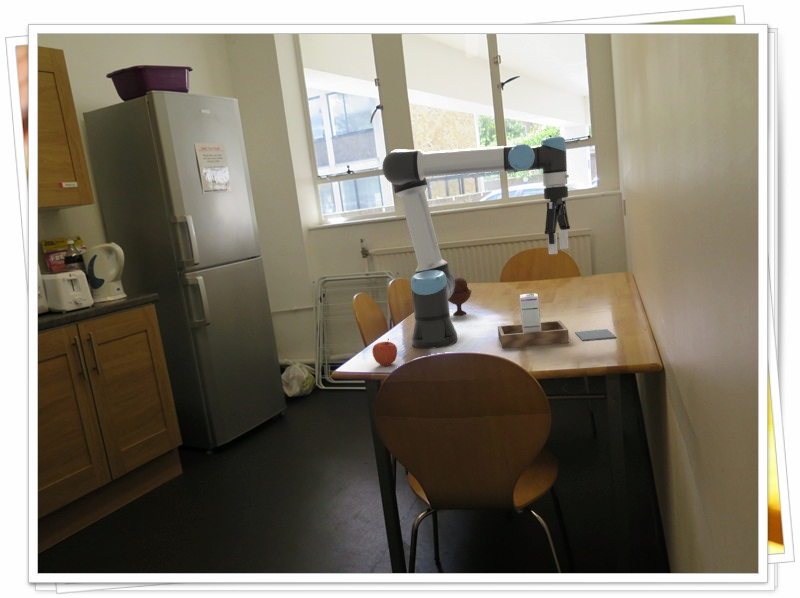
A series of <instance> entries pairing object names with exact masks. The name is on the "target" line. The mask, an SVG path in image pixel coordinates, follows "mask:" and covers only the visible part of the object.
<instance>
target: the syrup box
mask: <svg viewBox="0 0 800 598" xmlns="http://www.w3.org/2000/svg"><path fill="white" fill-rule="evenodd" d="M519 306H520V307H519V308H520V318H521V324H522V330H523V333H527V332H538V331H541V322H542V320H541V311H540V302H539V294H538V293H536V292H533V293H532V292H531V293H523V294H519Z"/></svg>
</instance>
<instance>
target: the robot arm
mask: <svg viewBox="0 0 800 598" xmlns="http://www.w3.org/2000/svg"><path fill="white" fill-rule="evenodd" d="M567 168H568V165H567V146H566V139H565V138H564V137H563V136H553V137H546V138H542V139H541V142H540V144H539V145H534V146H531V145H529V144H525V143H517V144H515V145H513V144H512V145H505V146H504V145H501V146H492V147H491V146H490V147H489V146H488V147H476V148H465V149H453V150H451V149H450V150H440V151H427V152H424V151H423V150H422V149H404V148H403V149H401V148H397V149H393V150H392V151H390V152H388V154H387V155H386V156H385V157H384V159H383V160H382V173H383V175H384V177H385V179H386V180H387V182H389V183H391V184H392V188H393V192H394V195H396V197H398V198H400V201H401V204H402V207H403V212H404V215H405V219H406V223H407V227H408V230H409V236H410V239H411V242H412V246H413V250H414V254H415V257H416V261H417V267H416V269H415V274H414V275H412V277H411V278H410V290H411V294H412V295H411V297H412V304H413V305H412V306H413V312H414V326H413V332H412V336H411V342H412V346H414V347H415V348H419V349H420V348H421V349H434V348H433V347H436V348H441V347H442V346H443V347H447V346H451V345H453V344H455V343H457V342H458V334H457V330H456V328H455V327H454V324H453V322H452V319H451V316H450V314H451V313H450V306H449V305H450V302H449V301H448V299H449V298H450V297H451V296H452V294H453V292H454V289H455V281H454V280H455V278H454V276H453V274H452V273H451V271H450V267H449V264H448V263H449V262H448V261H446V260H445V259H443V257H442V254H441V250H440V245H439V242H438V239H437V238H438V237H437V234H436V231H435V227H434V224H433V219H432V215H431V211H430V207H429V203H428V200H427V195H426V189H427V187H428V182H427V177H428V178H430V177H443V176H456V175H457V176H458V175H467V174H468V175H469V174H472V175H473V174H481V173H482V174H483V173H496V172H497V173H498V172H499V173H500V172H507V173H518V172H526V171H527V172H528V171H536V170H542V181H543V182H542V185H543V186H544V189H543V199H544V200H549V202H547V203H546V216H545V217H546V219H545V226H544V227H545V229H544V234H545V235H547V246H548V247H547V248H548V255H558V252H559V251H558V239H559V250H568V249H569V234H568V232H569V231H568V230H570V229H571V225H570V222H569V217H568V212H567V211H568V210H567V206H566V204H567V202H566V200H565V199H567V198H568V197H569V188H568V186H567V184H568V179H569V177H570V176H569V174H568V173H567V171H568V169H567ZM557 226H558V227H559V229H558V235H559V236H558V235H557V233H556V231H557ZM558 237H559V238H558ZM450 344H451V345H450ZM443 347H442V348H443Z"/></svg>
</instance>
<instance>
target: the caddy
mask: <svg viewBox="0 0 800 598" xmlns="http://www.w3.org/2000/svg"><path fill="white" fill-rule="evenodd" d="M497 334H498V340H499V343H500V345H501V348H502V349H509V348H520V347H521V348H522V347H533V346H534V347H535V346H544V345H554V344H555V345H557V344H568V343H570V334H569V329H568V327H566V326H565V324H564V323H563V322H562V321H561V320H551V321H541V331H538V332H527V333H523V330H522V323H516V324H505V325H497Z"/></svg>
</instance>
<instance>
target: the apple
mask: <svg viewBox="0 0 800 598" xmlns="http://www.w3.org/2000/svg"><path fill="white" fill-rule="evenodd" d="M371 353H372V357H373V359H374V360H375V362H376V363H378V364H379V365H380V366H382V367H388V366H390V365H392V364H393V363H394V362H395V361H396V359H397V356H398V348H397V346H396V344H395V343H393V342H391V341H389V338H388V339H387V341H380V342H377V343H376V344H374V345H373V347H372V352H371ZM391 363H392V364H391Z"/></svg>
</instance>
